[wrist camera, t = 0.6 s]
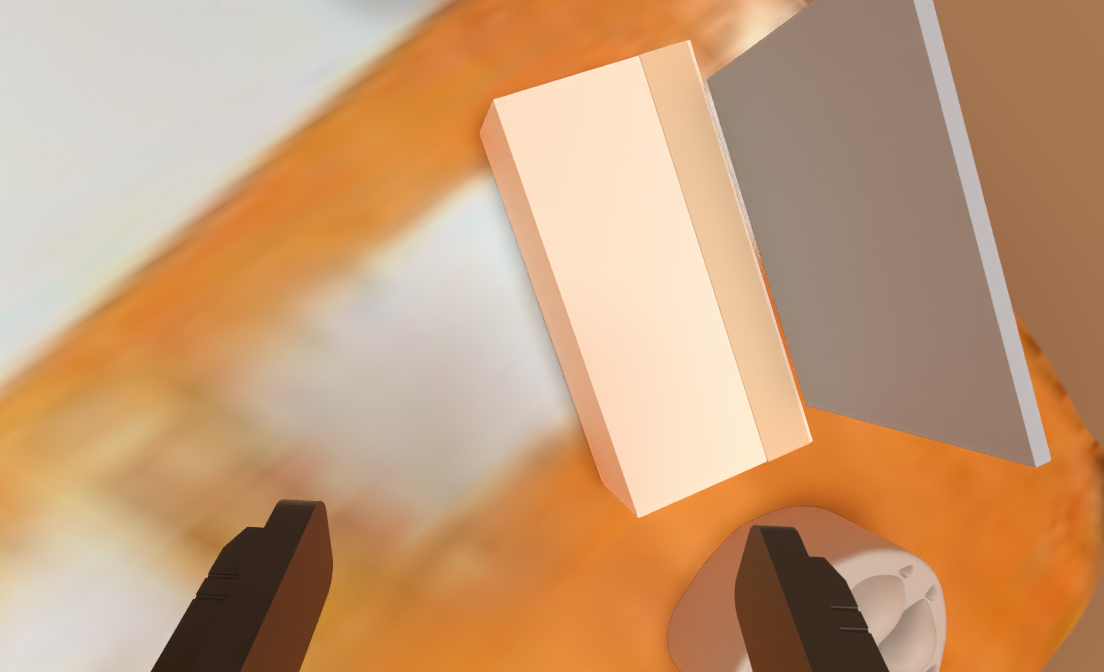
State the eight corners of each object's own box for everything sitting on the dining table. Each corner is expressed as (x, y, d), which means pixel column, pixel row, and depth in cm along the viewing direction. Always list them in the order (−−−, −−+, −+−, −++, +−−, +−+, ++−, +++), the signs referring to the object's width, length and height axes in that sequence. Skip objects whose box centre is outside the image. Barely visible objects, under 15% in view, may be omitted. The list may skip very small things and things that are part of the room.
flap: (706, 79, 30) (897, -61, 18) (718, 76, 30) (915, -66, 18) (806, 405, 32) (1036, 467, 20) (817, 401, 32) (1051, 460, 20)
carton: (478, 133, 34) (493, 98, 28) (644, 81, 36) (690, 39, 30) (602, 483, 37) (639, 518, 31) (751, 419, 39) (813, 441, 33)
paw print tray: (643, 639, 38) (710, 736, 30) (783, 465, 39) (885, 510, 31) (764, 736, 40) (859, 854, 32) (893, 567, 41) (1017, 637, 33)
